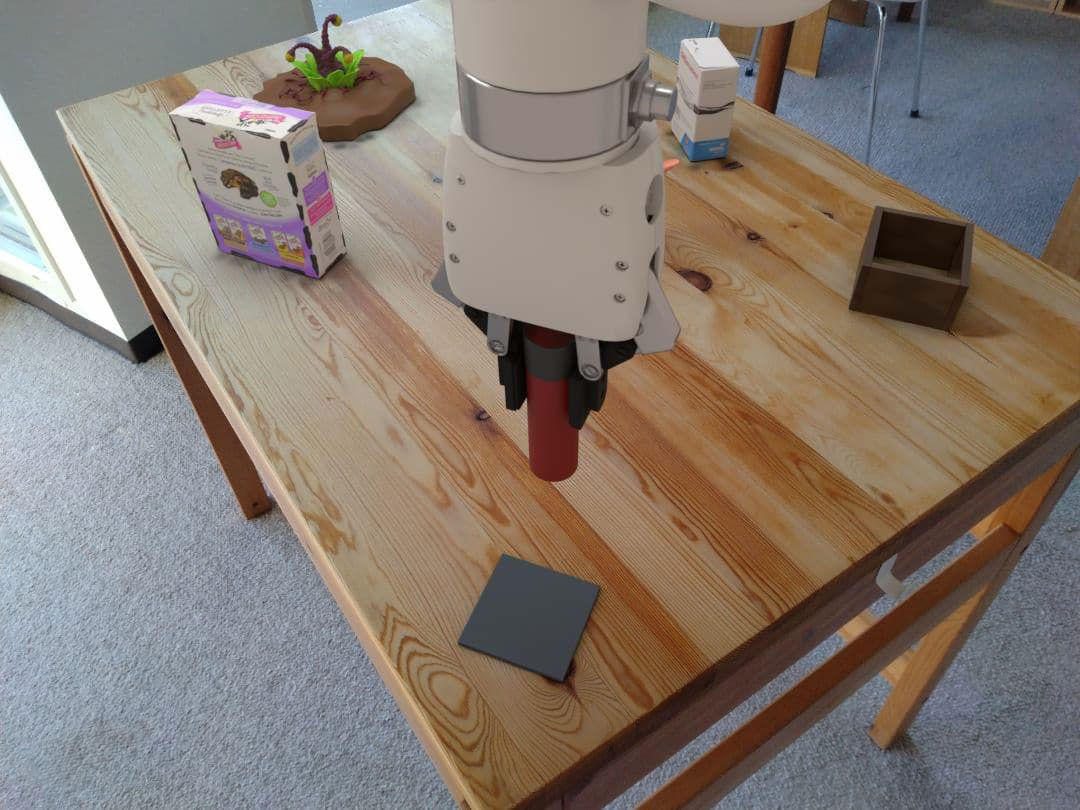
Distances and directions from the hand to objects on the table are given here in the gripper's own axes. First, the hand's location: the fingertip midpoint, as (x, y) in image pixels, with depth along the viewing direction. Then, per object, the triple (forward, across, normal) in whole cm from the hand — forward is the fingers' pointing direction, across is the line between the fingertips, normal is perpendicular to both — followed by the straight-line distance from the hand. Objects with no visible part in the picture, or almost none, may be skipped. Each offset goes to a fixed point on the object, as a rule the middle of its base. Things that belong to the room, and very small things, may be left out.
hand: (552, 400), depth 48 cm
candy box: (+21, +44, -29) cm, 57 cm away
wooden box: (+21, -20, -46) cm, 55 cm away
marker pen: (+6, 0, 0) cm, 6 cm away
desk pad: (+21, +1, +2) cm, 21 cm away
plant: (+21, +56, -61) cm, 85 cm away
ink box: (+21, +7, -67) cm, 71 cm away
